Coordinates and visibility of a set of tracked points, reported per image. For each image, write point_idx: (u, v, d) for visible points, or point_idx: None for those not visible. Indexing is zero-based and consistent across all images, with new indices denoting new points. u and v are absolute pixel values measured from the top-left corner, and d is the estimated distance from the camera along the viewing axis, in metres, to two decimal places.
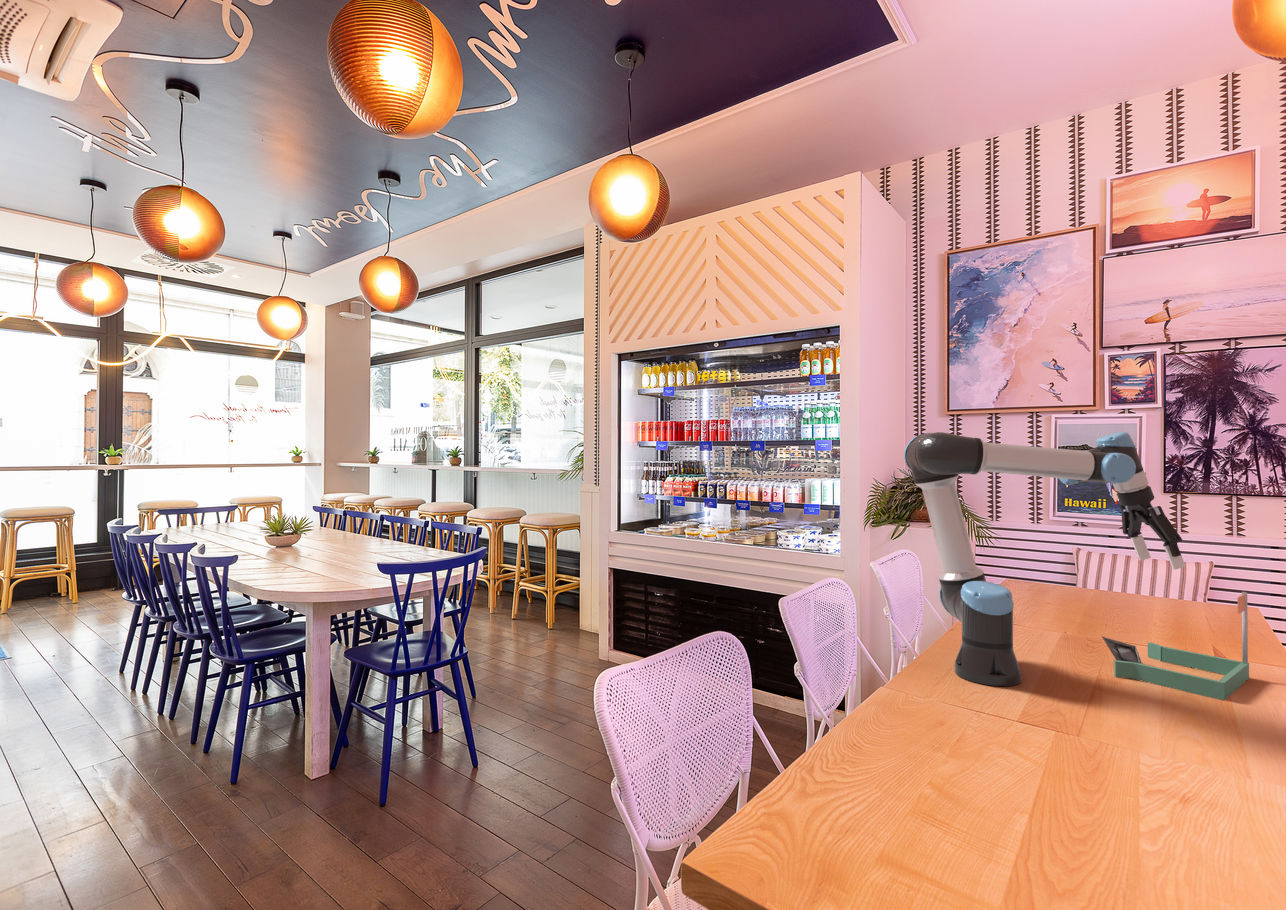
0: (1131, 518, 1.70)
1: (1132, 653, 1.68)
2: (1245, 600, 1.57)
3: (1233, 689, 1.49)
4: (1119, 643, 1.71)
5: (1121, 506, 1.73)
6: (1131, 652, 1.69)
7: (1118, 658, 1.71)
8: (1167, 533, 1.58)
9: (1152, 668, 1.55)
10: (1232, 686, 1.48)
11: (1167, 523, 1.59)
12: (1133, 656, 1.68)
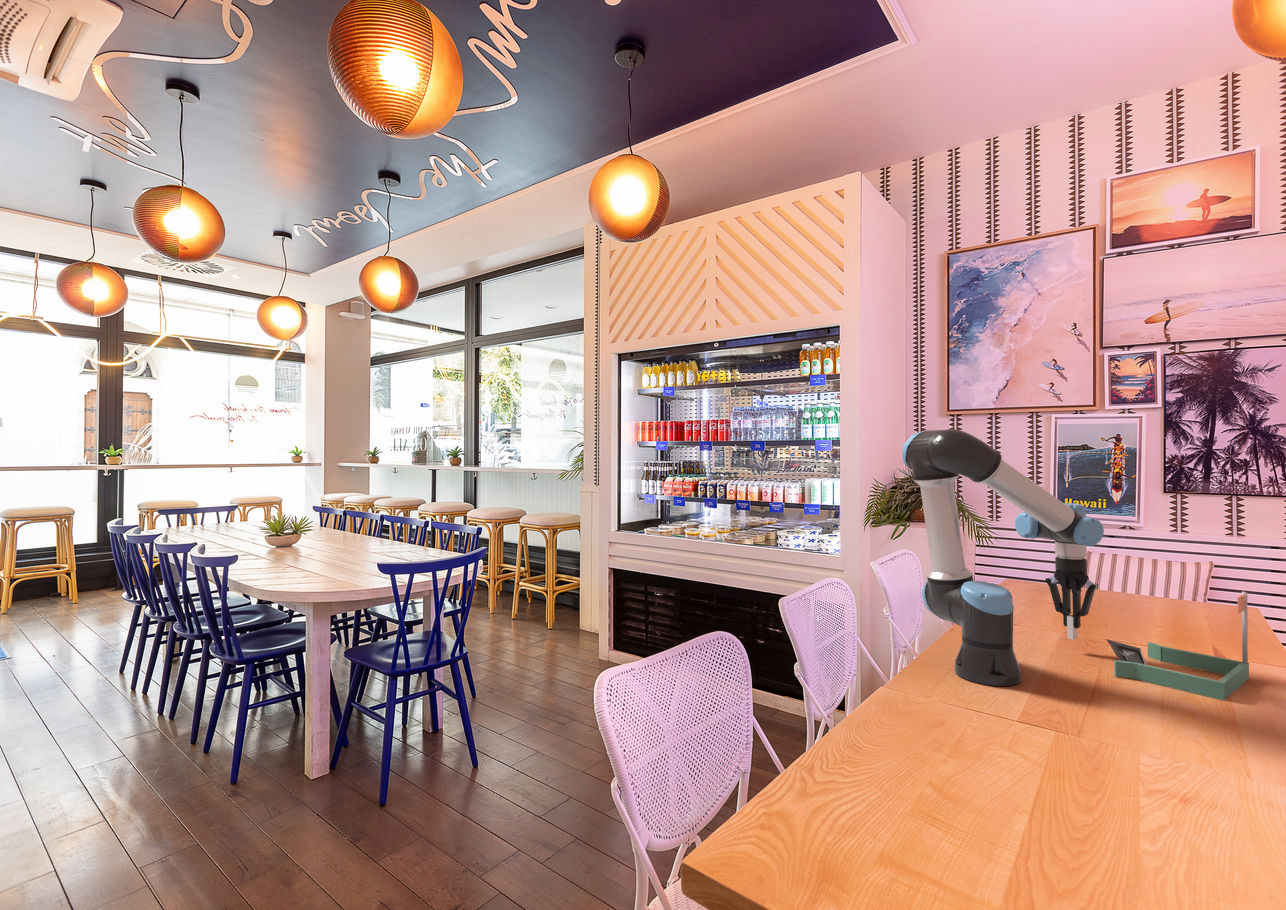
0: (1064, 586, 1.79)
1: (1137, 655, 1.66)
2: (1245, 600, 1.57)
3: (1233, 689, 1.49)
4: (1123, 645, 1.69)
5: (1047, 579, 1.83)
6: (1136, 654, 1.67)
7: None
8: (1087, 608, 1.75)
9: (1152, 668, 1.55)
10: (1232, 686, 1.48)
11: (1091, 599, 1.76)
12: (1138, 658, 1.66)
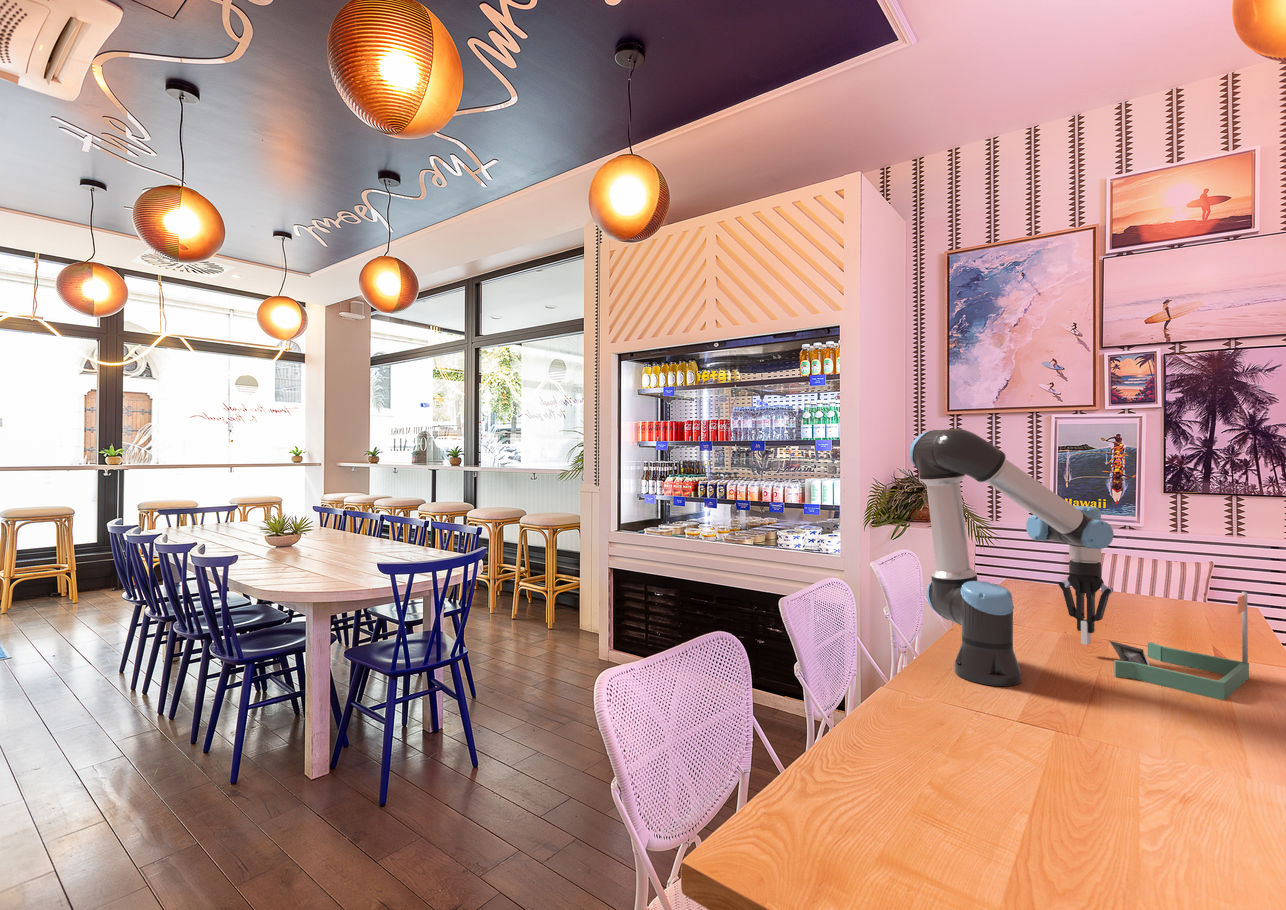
0: (1078, 590, 1.76)
1: (1140, 657, 1.65)
2: (1245, 600, 1.57)
3: (1233, 689, 1.49)
4: (1126, 647, 1.68)
5: (1061, 583, 1.80)
6: (1139, 656, 1.65)
7: None
8: (1101, 612, 1.72)
9: (1152, 668, 1.55)
10: (1232, 686, 1.48)
11: (1105, 604, 1.73)
12: (1141, 660, 1.65)
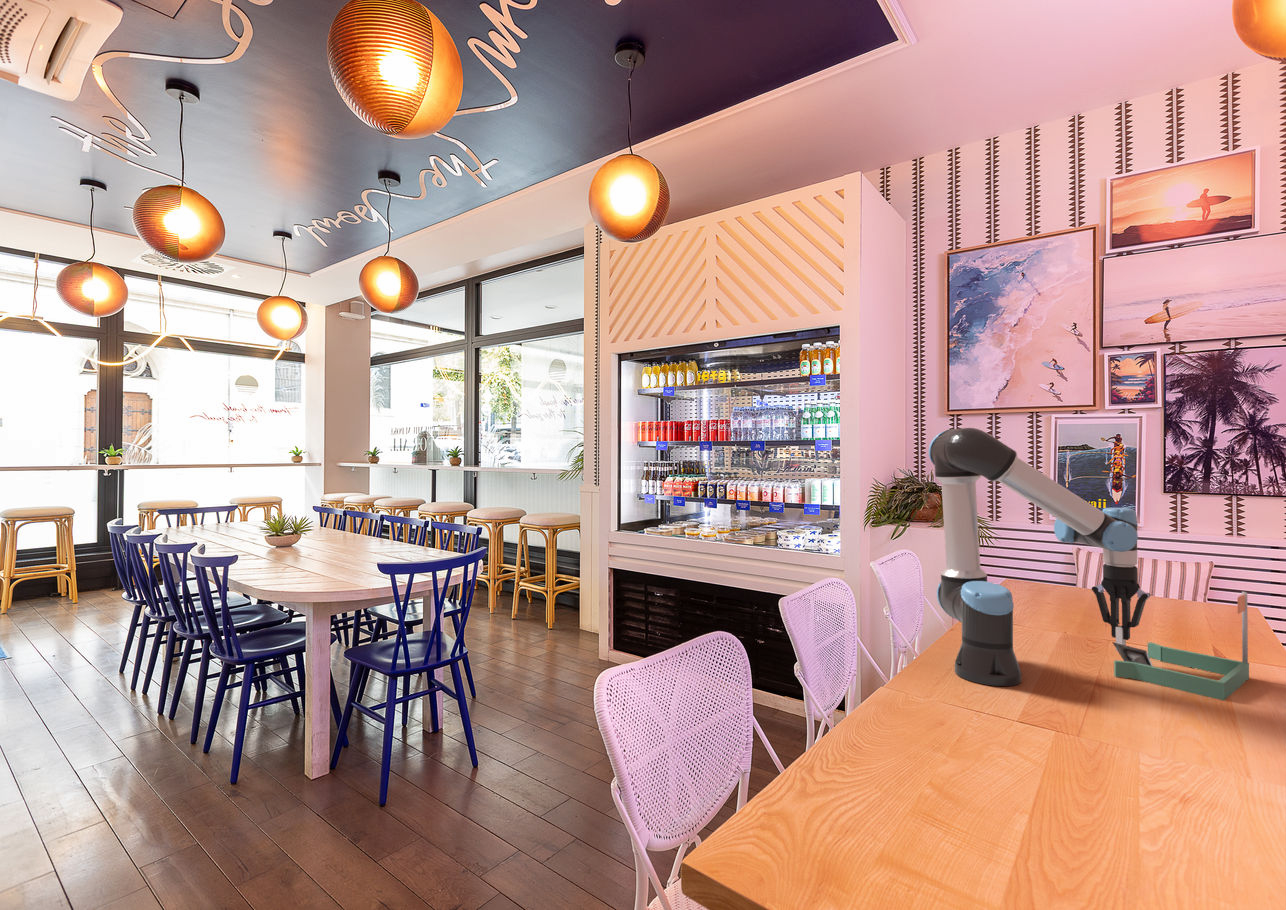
0: (1113, 595, 1.69)
1: (1143, 658, 1.64)
2: (1245, 600, 1.57)
3: (1233, 689, 1.49)
4: (1129, 648, 1.67)
5: (1094, 587, 1.73)
6: (1142, 657, 1.64)
7: None
8: (1138, 618, 1.66)
9: (1152, 668, 1.55)
10: (1232, 686, 1.48)
11: (1142, 609, 1.66)
12: (1145, 661, 1.64)
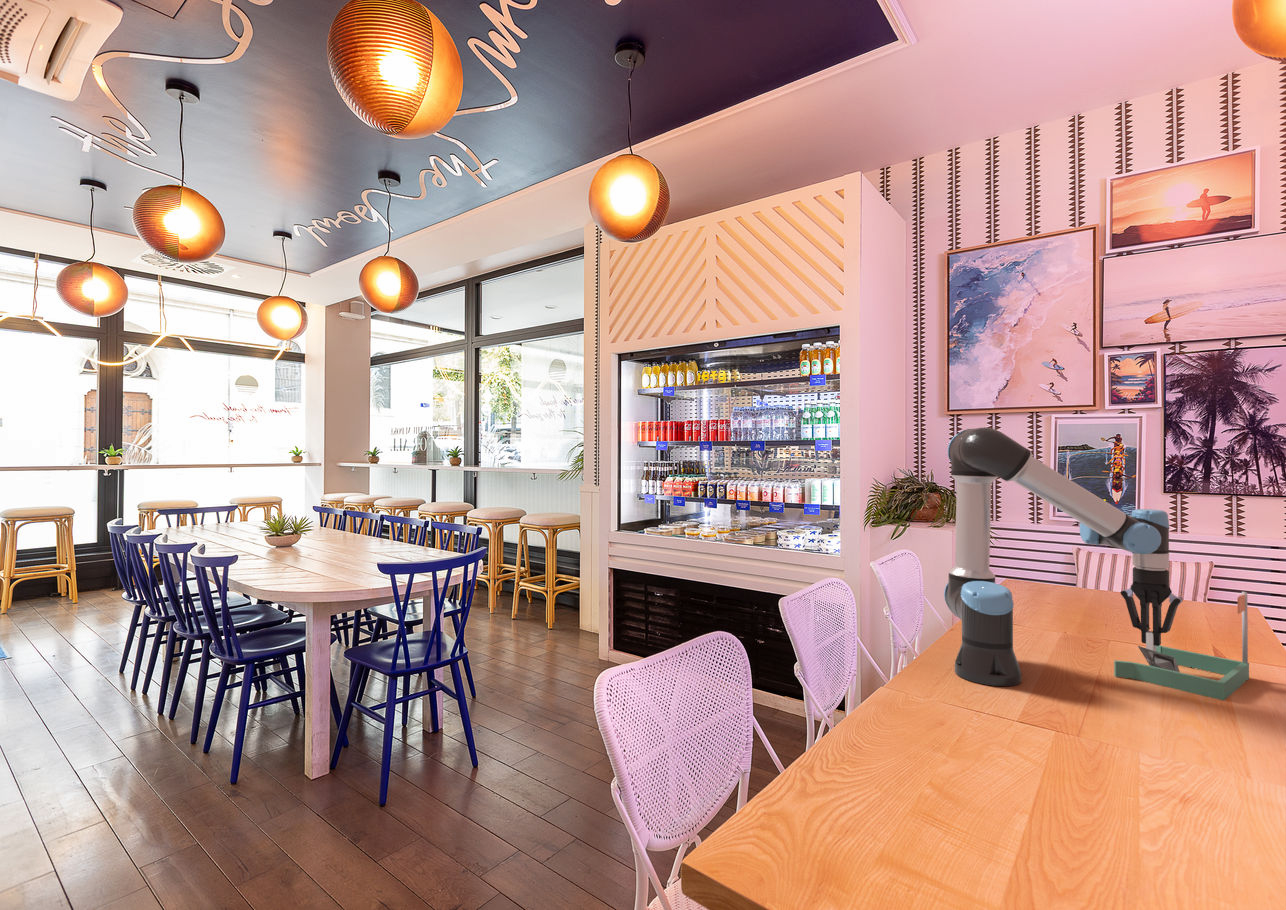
0: (1144, 600, 1.64)
1: (1170, 665, 1.59)
2: (1245, 600, 1.57)
3: (1233, 689, 1.49)
4: (1157, 653, 1.62)
5: (1123, 592, 1.68)
6: (1169, 663, 1.59)
7: None
8: (1169, 624, 1.60)
9: (1152, 668, 1.55)
10: (1232, 686, 1.48)
11: (1174, 615, 1.61)
12: (1171, 668, 1.58)
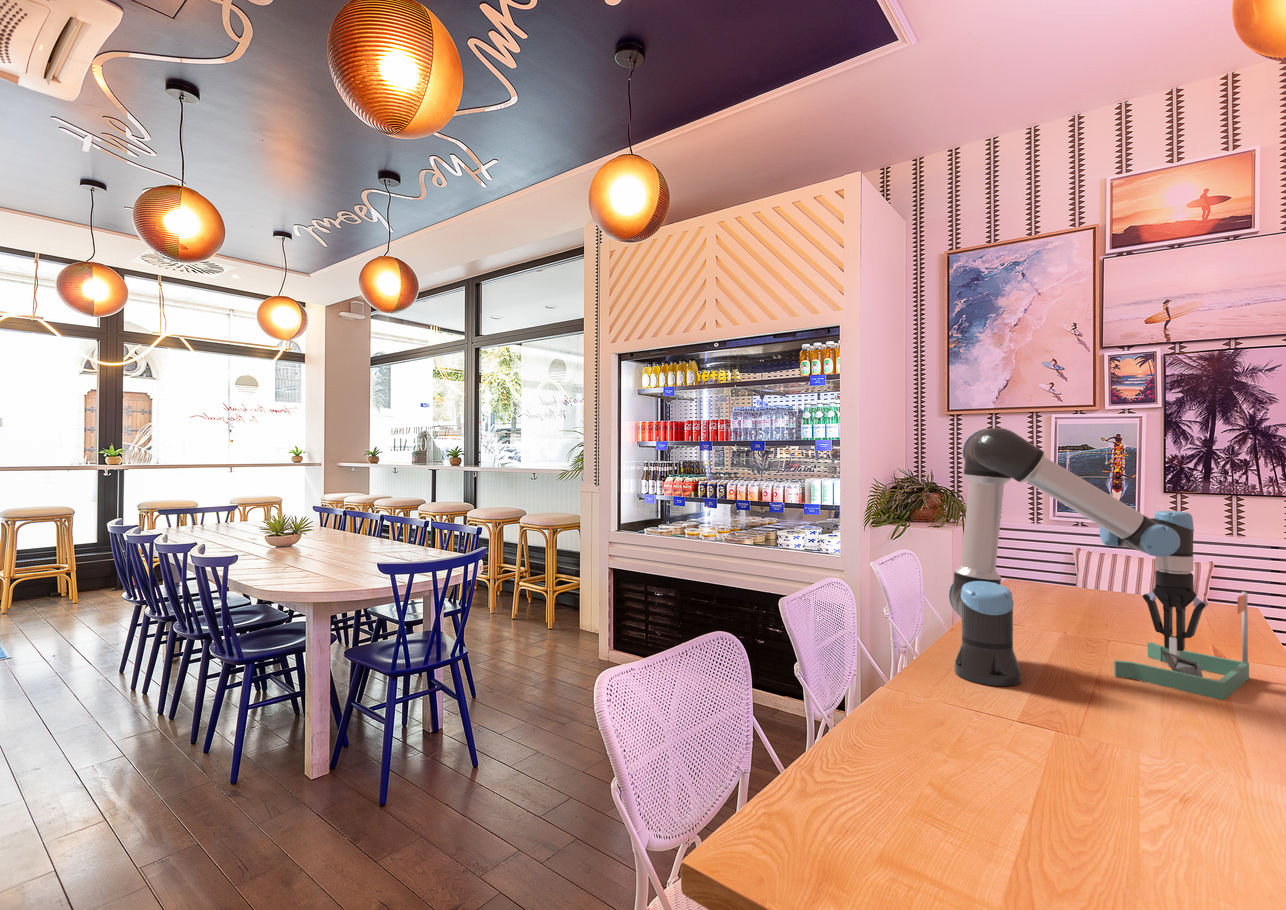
0: (1167, 604, 1.60)
1: (1193, 670, 1.55)
2: (1245, 600, 1.57)
3: (1233, 689, 1.49)
4: (1181, 658, 1.58)
5: (1145, 595, 1.64)
6: (1192, 669, 1.55)
7: None
8: (1194, 629, 1.56)
9: (1152, 668, 1.55)
10: (1232, 686, 1.48)
11: (1198, 619, 1.57)
12: (1193, 673, 1.54)
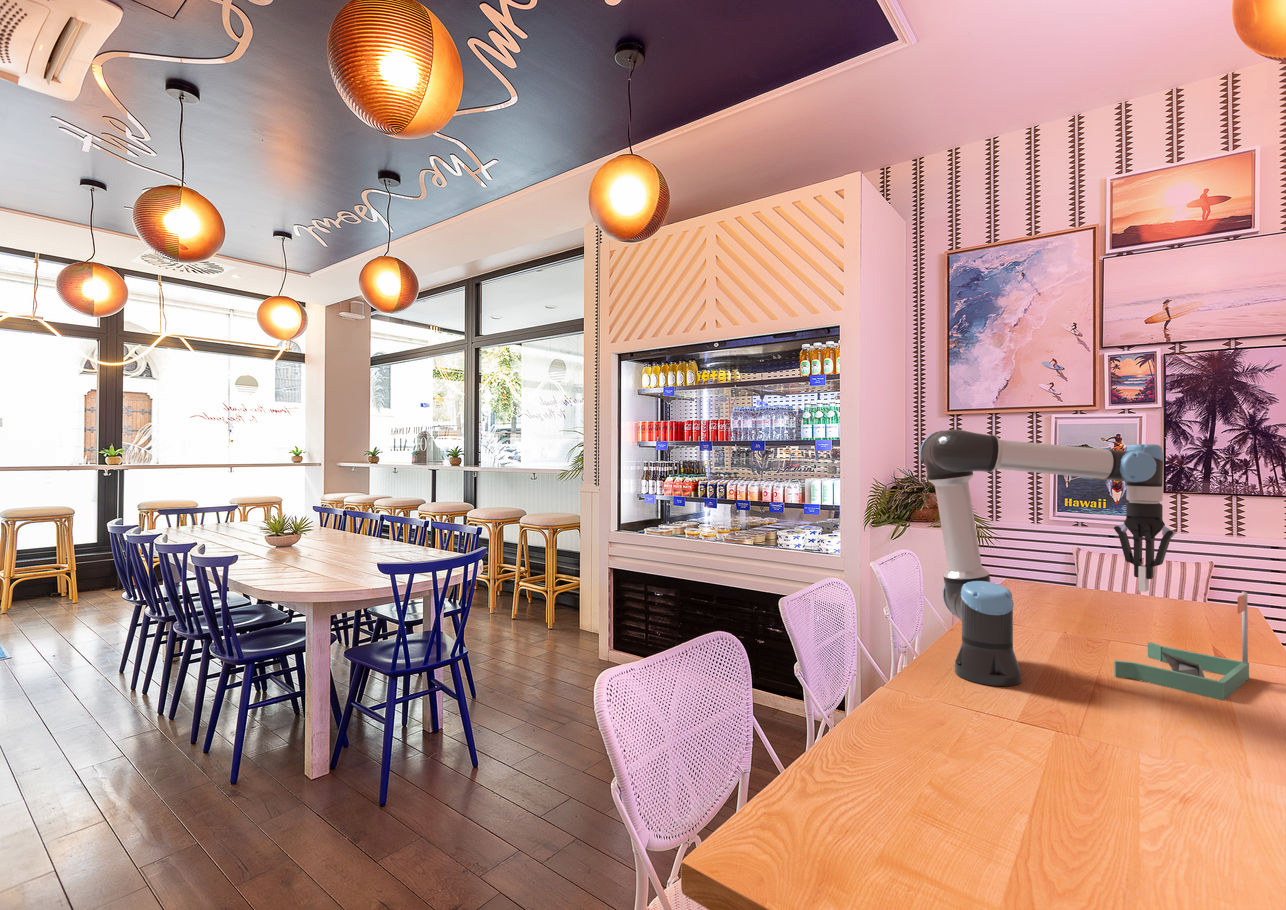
0: (1137, 534, 1.65)
1: (1195, 672, 1.54)
2: (1245, 600, 1.57)
3: (1233, 689, 1.49)
4: (1182, 660, 1.57)
5: (1117, 527, 1.69)
6: (1194, 671, 1.54)
7: None
8: (1162, 556, 1.61)
9: (1152, 668, 1.55)
10: (1232, 686, 1.48)
11: (1166, 547, 1.62)
12: (1196, 675, 1.53)
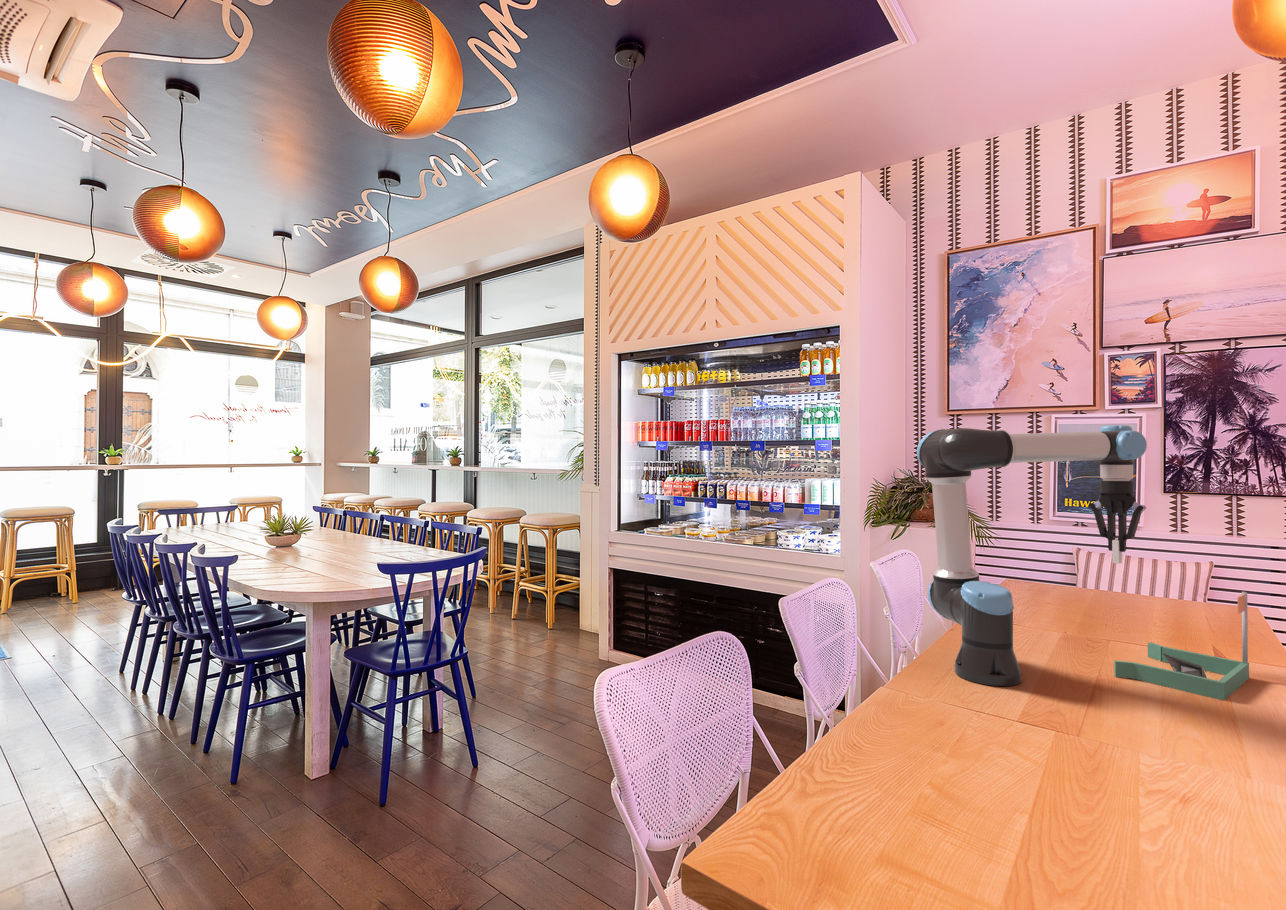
0: (1110, 510, 1.76)
1: (1198, 673, 1.53)
2: (1245, 600, 1.57)
3: (1233, 689, 1.49)
4: (1184, 662, 1.56)
5: (1092, 504, 1.80)
6: (1196, 672, 1.53)
7: None
8: (1133, 530, 1.72)
9: (1152, 668, 1.55)
10: (1232, 686, 1.48)
11: (1137, 522, 1.72)
12: None
